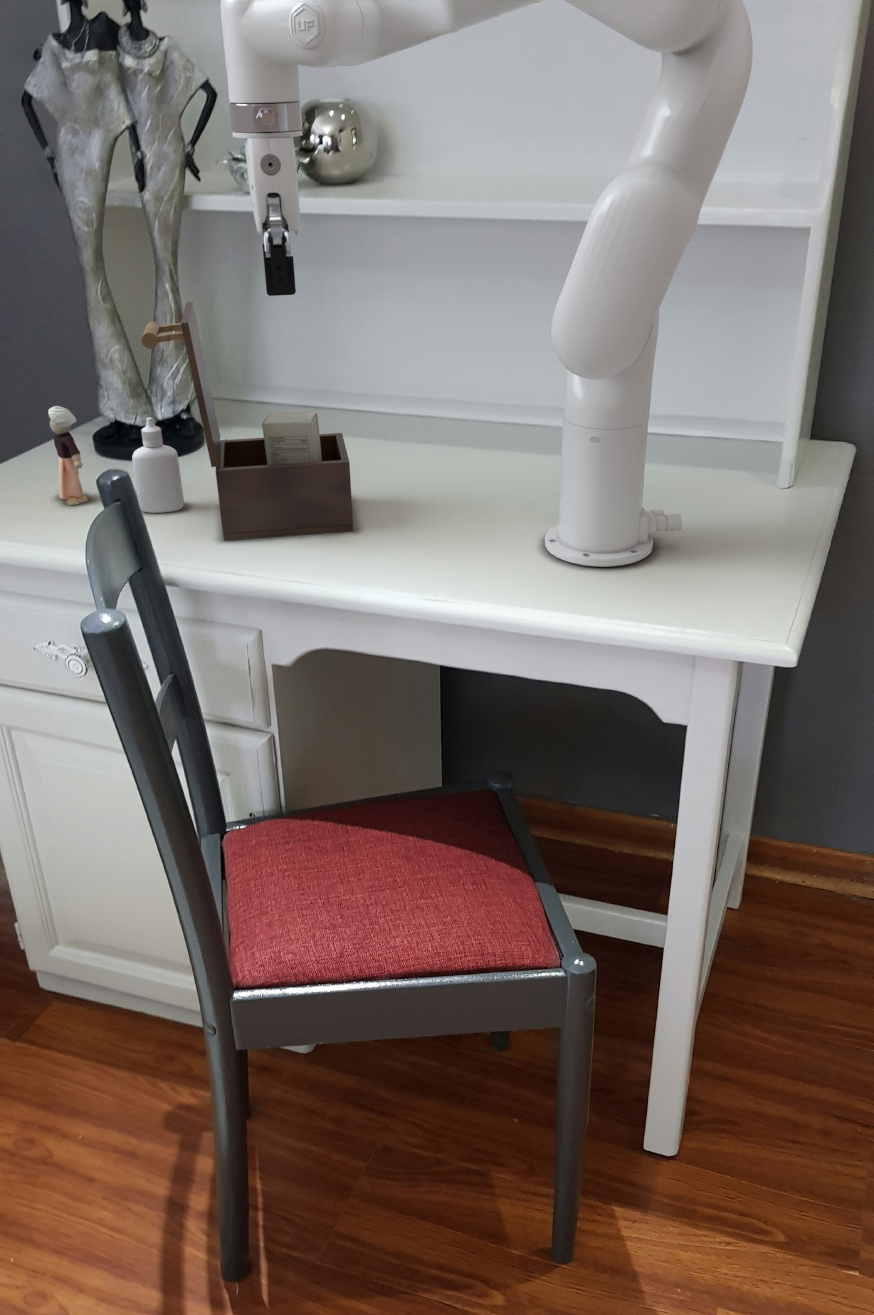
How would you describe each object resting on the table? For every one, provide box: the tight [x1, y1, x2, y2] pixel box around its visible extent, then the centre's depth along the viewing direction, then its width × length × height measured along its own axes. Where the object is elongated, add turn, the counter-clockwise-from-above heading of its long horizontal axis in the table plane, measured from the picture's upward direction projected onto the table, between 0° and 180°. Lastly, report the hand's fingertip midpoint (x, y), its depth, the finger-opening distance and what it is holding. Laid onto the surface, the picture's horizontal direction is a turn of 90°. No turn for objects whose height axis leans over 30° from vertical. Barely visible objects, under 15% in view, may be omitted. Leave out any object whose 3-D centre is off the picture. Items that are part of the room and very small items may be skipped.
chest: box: [215, 432, 354, 541], centre depth 139 cm, size 16×12×9 cm
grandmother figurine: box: [47, 405, 89, 506], centre depth 145 cm, size 8×4×13 cm, turn 47°
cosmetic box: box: [261, 411, 322, 465], centre depth 138 cm, size 6×4×12 cm
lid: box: [140, 301, 221, 468], centre depth 131 cm, size 17×12×6 cm
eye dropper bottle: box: [131, 417, 185, 514], centre depth 142 cm, size 4×6×12 cm
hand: (280, 286), depth 128 cm, fingers open, 9 cm apart
